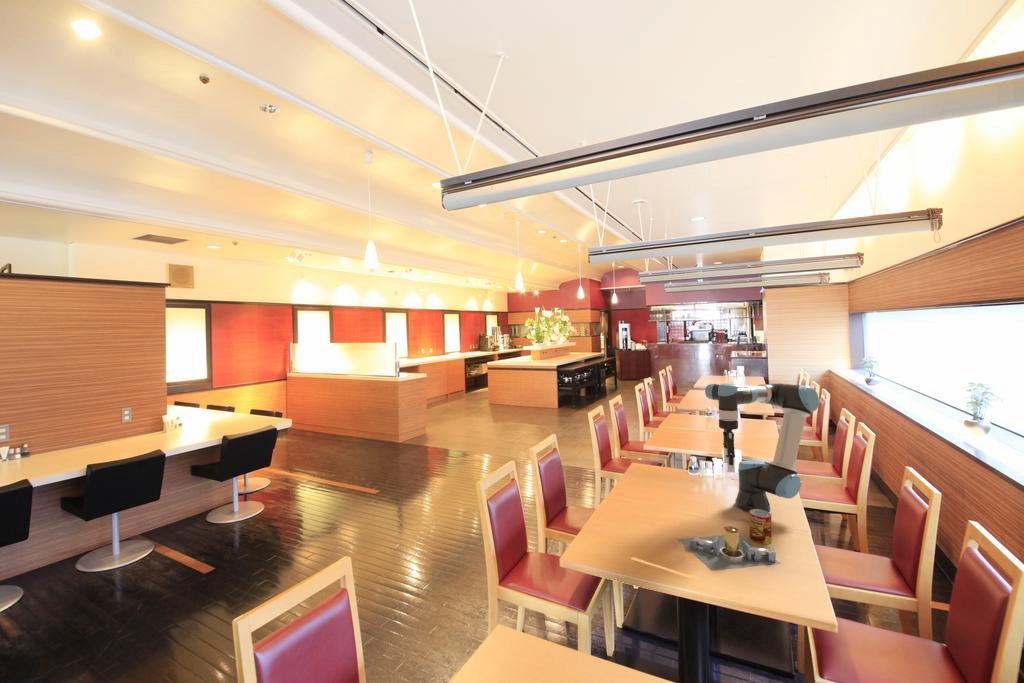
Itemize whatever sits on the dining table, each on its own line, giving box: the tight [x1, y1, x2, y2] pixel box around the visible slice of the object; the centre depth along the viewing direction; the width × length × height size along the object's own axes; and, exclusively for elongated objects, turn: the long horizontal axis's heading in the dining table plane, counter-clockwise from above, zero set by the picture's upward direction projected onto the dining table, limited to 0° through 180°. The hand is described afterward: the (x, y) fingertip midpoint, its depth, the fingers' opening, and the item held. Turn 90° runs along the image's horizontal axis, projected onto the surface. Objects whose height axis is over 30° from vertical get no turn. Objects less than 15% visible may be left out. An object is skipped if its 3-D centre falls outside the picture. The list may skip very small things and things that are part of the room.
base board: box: [677, 534, 782, 572], centre depth 165 cm, size 28×24×1 cm
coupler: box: [723, 525, 740, 557], centre depth 160 cm, size 5×5×11 cm
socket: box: [720, 547, 745, 563], centre depth 160 cm, size 8×8×2 cm
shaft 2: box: [743, 541, 777, 562], centre depth 159 cm, size 10×5×5 cm, turn 83°
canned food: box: [749, 509, 773, 545], centre depth 174 cm, size 8×8×12 cm
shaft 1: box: [689, 535, 719, 556], centre depth 166 cm, size 10×5×5 cm, turn 53°
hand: (729, 467), depth 182 cm, fingers open, 13 cm apart
